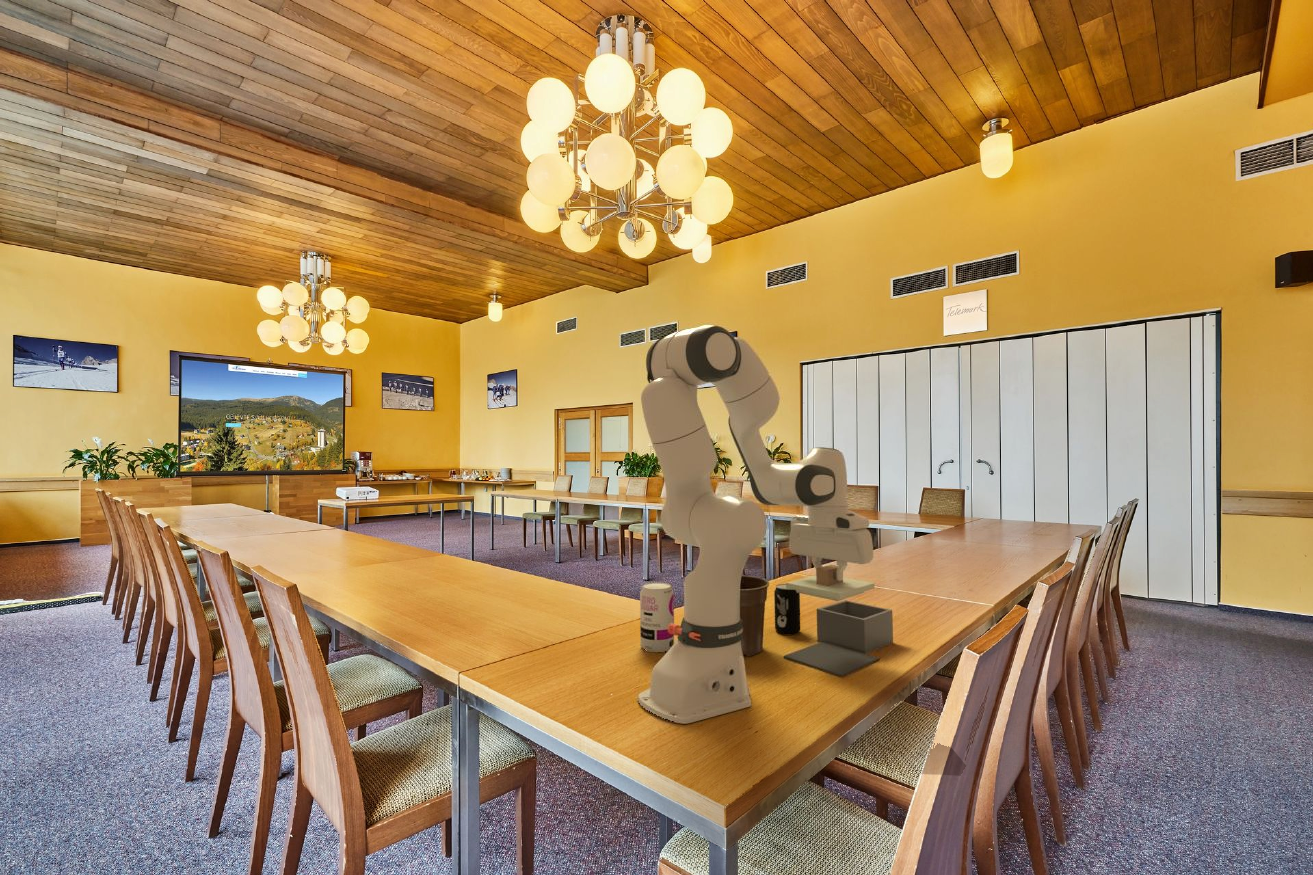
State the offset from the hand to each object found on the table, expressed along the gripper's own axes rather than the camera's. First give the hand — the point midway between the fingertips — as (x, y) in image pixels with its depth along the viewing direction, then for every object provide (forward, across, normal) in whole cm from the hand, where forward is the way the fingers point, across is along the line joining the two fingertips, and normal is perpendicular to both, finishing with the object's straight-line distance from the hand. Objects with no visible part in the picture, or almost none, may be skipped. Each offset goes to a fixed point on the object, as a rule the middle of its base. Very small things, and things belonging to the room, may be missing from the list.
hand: (829, 578), depth 128 cm
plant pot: (+18, -19, -11) cm, 29 cm away
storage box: (+18, -3, +15) cm, 24 cm away
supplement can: (+18, -32, -25) cm, 45 cm away
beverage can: (+19, -19, +9) cm, 28 cm away
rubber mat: (+18, 0, 0) cm, 18 cm away
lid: (+3, 0, 0) cm, 3 cm away
